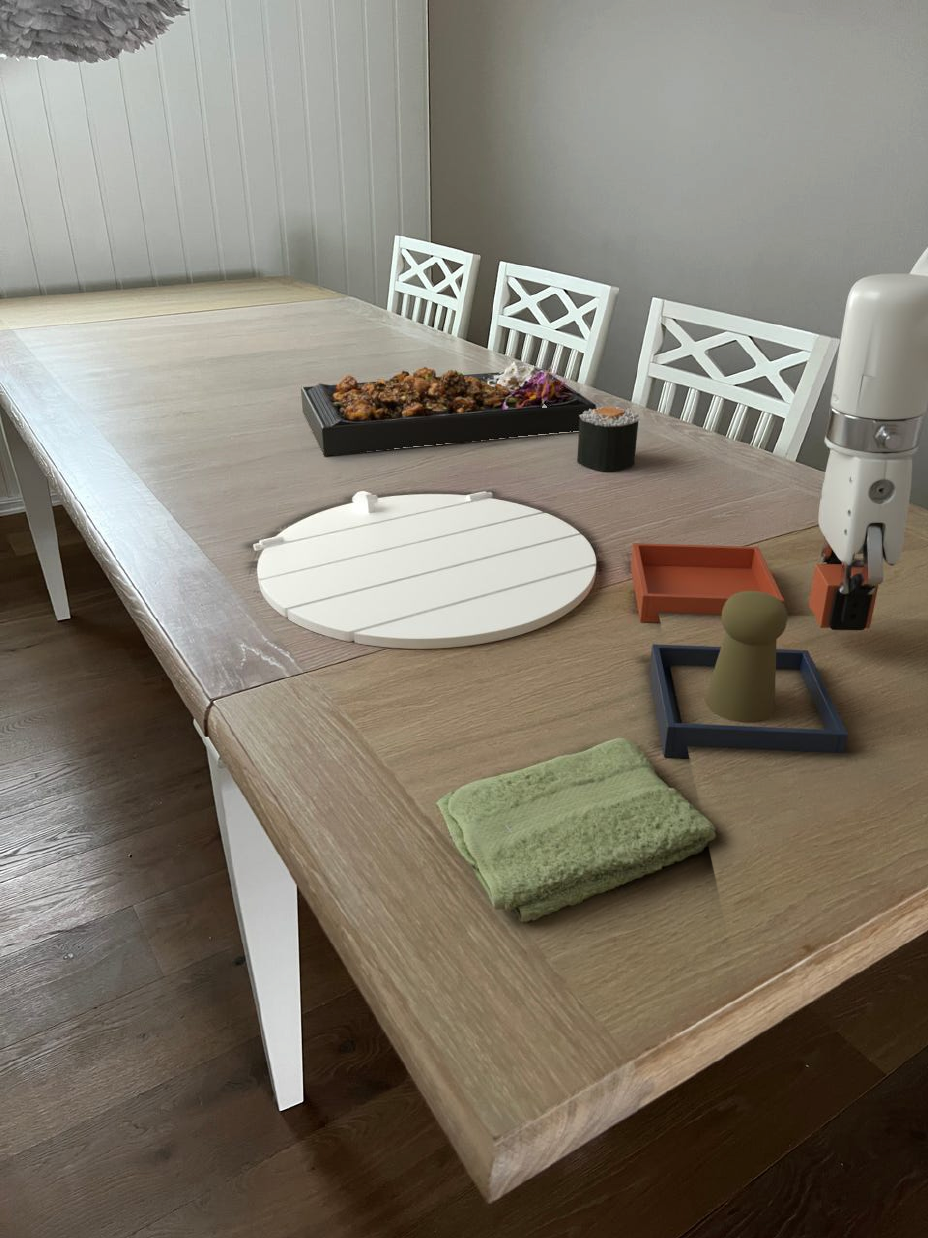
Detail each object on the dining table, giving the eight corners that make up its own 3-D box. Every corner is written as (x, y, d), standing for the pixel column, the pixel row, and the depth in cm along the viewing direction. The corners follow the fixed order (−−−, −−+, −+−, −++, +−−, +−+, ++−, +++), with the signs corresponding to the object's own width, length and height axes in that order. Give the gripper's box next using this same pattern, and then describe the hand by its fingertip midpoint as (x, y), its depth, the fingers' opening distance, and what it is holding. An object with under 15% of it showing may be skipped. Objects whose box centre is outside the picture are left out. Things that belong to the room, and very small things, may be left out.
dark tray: (802, 678, 86) (808, 649, 85) (840, 765, 75) (848, 734, 73) (648, 672, 88) (651, 644, 86) (663, 757, 76) (667, 726, 75)
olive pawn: (764, 737, 77) (786, 622, 72) (694, 717, 80) (710, 604, 75) (781, 702, 82) (803, 591, 77) (714, 683, 85) (730, 576, 79)
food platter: (542, 392, 174) (544, 336, 169) (594, 430, 153) (598, 368, 148) (302, 412, 163) (297, 352, 158) (324, 456, 142) (318, 389, 137)
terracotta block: (856, 605, 90) (864, 563, 88) (870, 628, 86) (878, 585, 84) (808, 605, 90) (815, 563, 88) (820, 628, 86) (827, 585, 84)
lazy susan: (211, 538, 115) (208, 512, 114) (479, 481, 133) (479, 458, 131) (342, 689, 85) (340, 657, 83) (667, 590, 102) (670, 561, 101)
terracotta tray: (754, 571, 107) (758, 546, 105) (779, 627, 95) (784, 600, 94) (630, 567, 108) (632, 542, 106) (640, 622, 96) (642, 595, 95)
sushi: (567, 461, 140) (570, 409, 136) (604, 450, 144) (608, 399, 141) (607, 475, 134) (612, 422, 130) (644, 463, 139) (649, 411, 135)
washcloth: (427, 814, 70) (426, 780, 68) (626, 756, 76) (629, 724, 75) (501, 939, 59) (502, 902, 58) (726, 860, 66) (732, 825, 64)
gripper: (956, 461, 72) (909, 662, 80) (887, 400, 86) (854, 575, 95) (856, 462, 72) (820, 661, 81) (804, 401, 87) (779, 575, 96)
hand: (839, 613), depth 88 cm, fingers closed on terracotta block, 4 cm apart
